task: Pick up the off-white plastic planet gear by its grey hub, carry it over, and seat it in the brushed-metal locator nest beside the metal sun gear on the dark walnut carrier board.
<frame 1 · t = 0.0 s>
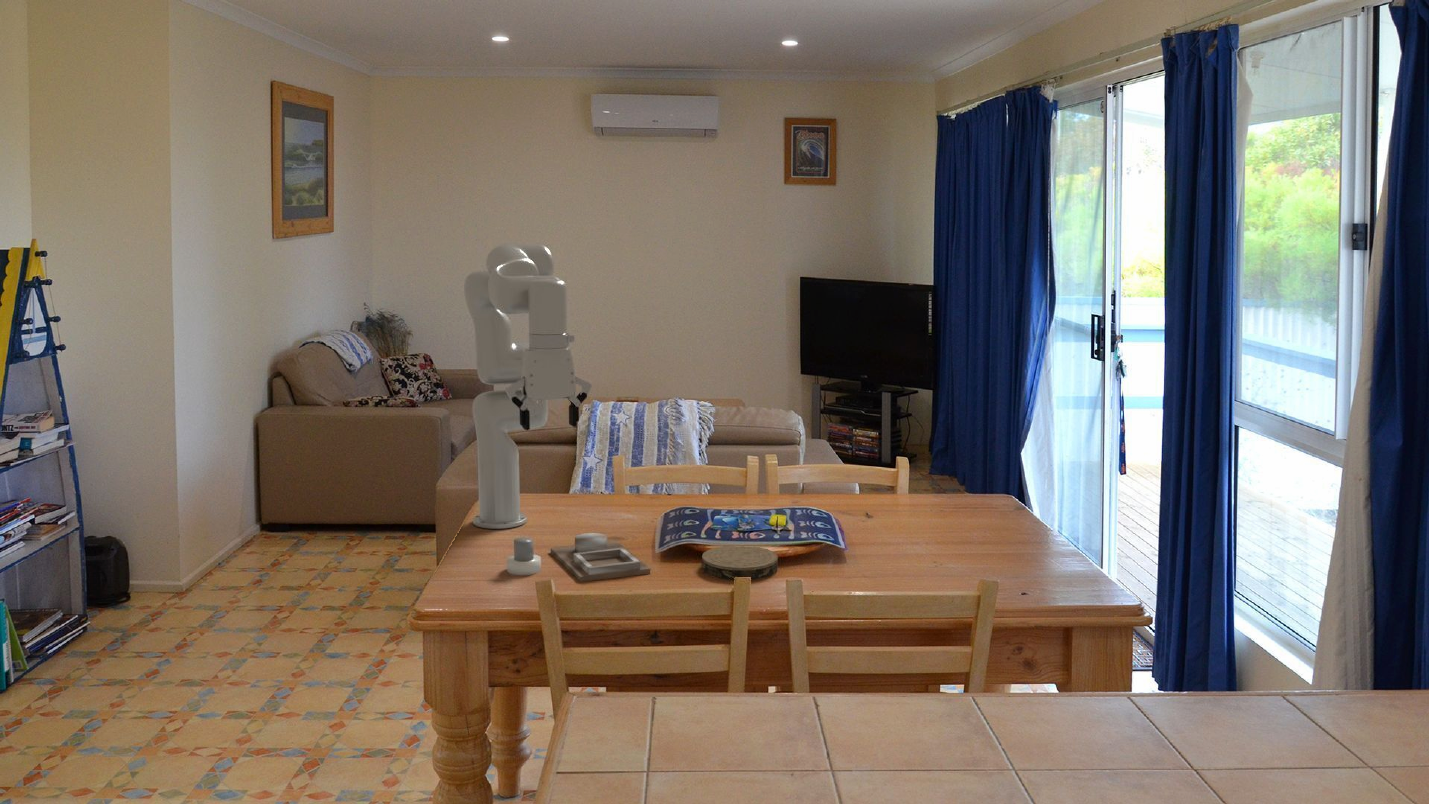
hand: (549, 427, 240), 31 cm above the table, fingers open, 9 cm apart
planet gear: (524, 570, 250), on the table
grey brown round disc: (739, 570, 252), on the table
carrier board: (599, 562, 256), on the table
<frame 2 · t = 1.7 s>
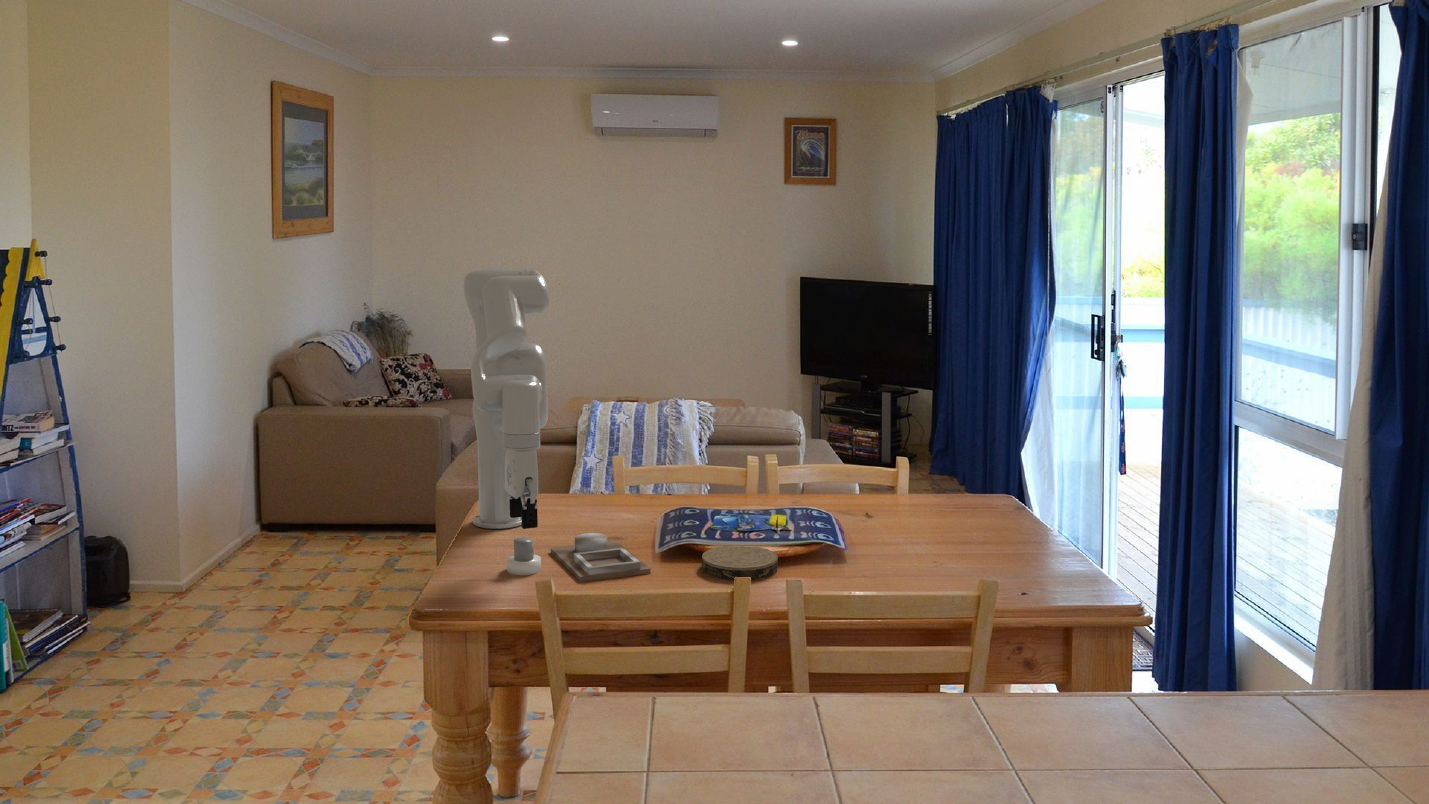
hand: (523, 522, 248), 10 cm above the table, fingers open, 9 cm apart
nothing on the table moved.
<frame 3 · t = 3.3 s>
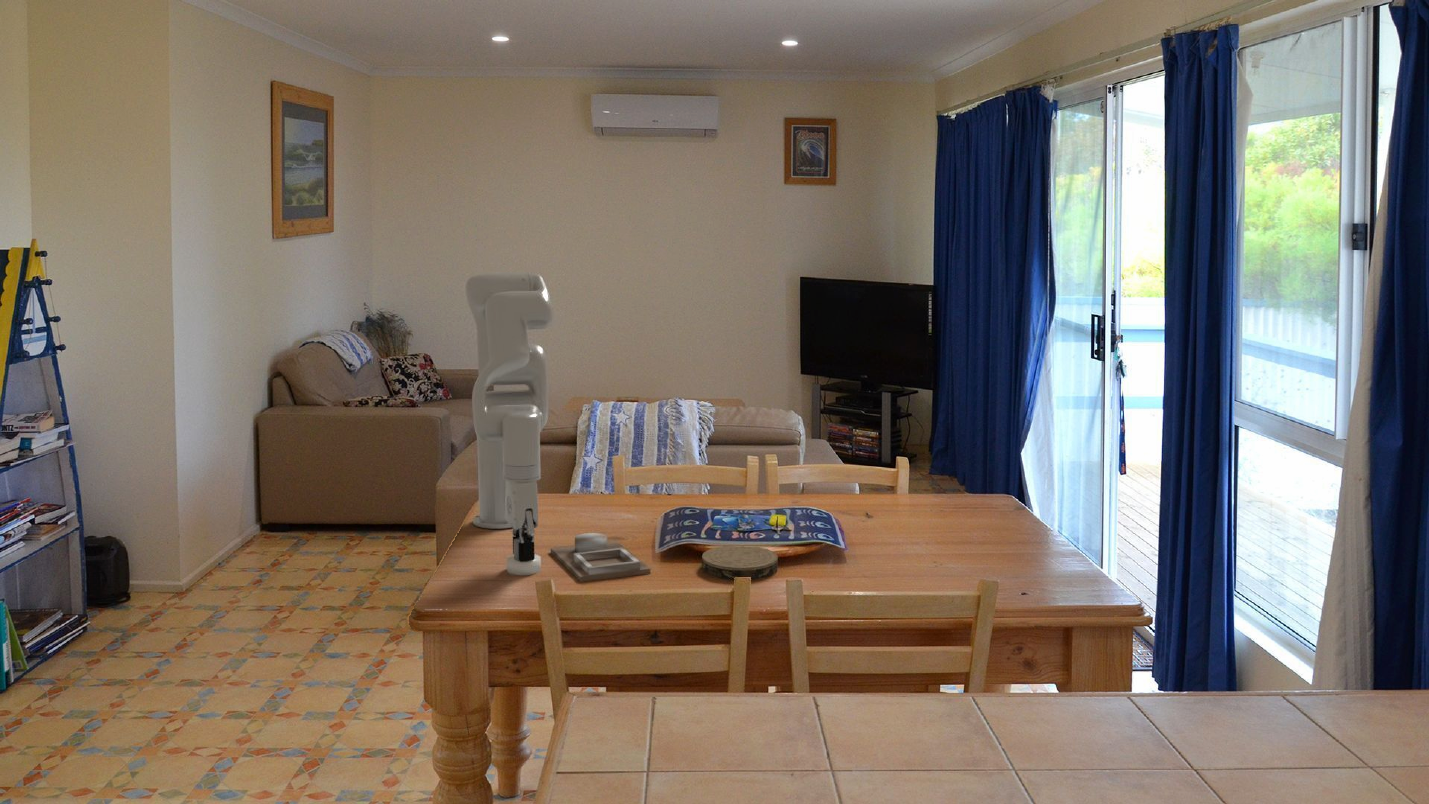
hand: (523, 556, 250), 3 cm above the table, fingers closed on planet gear, 4 cm apart
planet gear: (524, 570, 250), on the table, touching gripper
everything else where it was.
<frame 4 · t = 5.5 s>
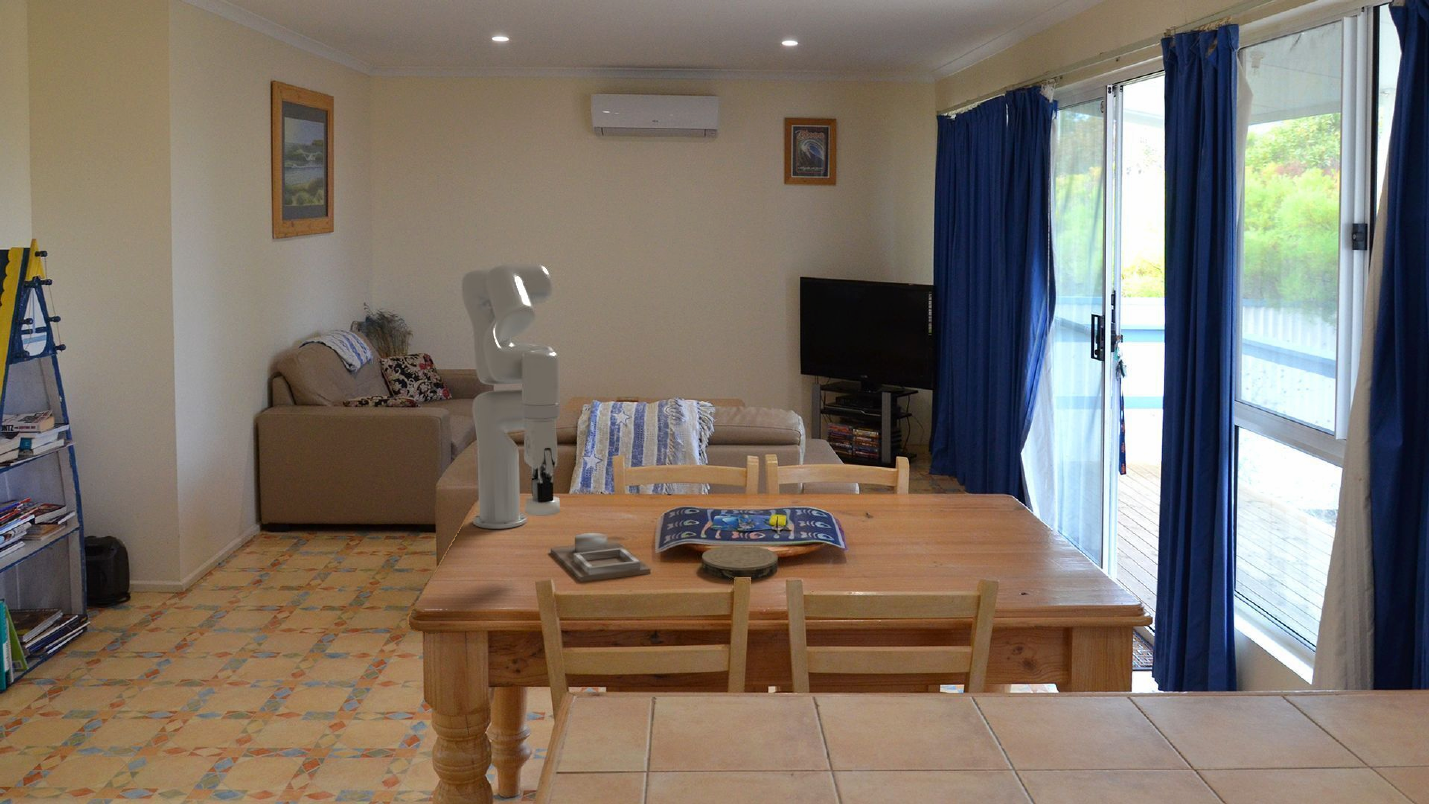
hand: (542, 497, 248), 15 cm above the table, fingers closed on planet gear, 4 cm apart
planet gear: (542, 511, 248), point 12 cm above the table, touching gripper
everything else where it was.
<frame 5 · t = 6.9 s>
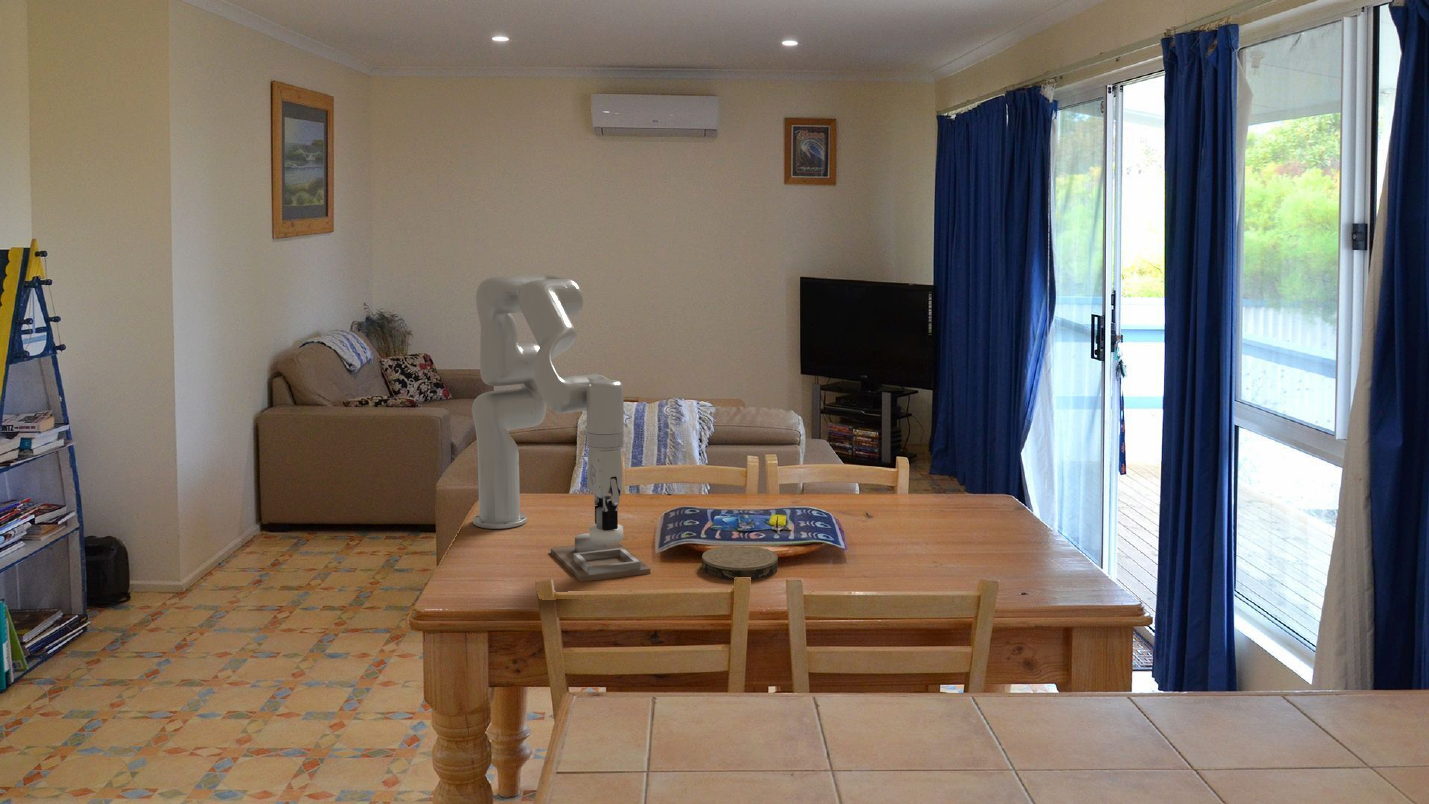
hand: (606, 525, 249), 9 cm above the table, fingers closed on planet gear, 4 cm apart
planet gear: (606, 539, 250), point 6 cm above the table, touching gripper
everything else where it was.
when the fingers open (5 cm above the table, at t = 8.1 s): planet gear drops 1 cm, resting on carrier board.
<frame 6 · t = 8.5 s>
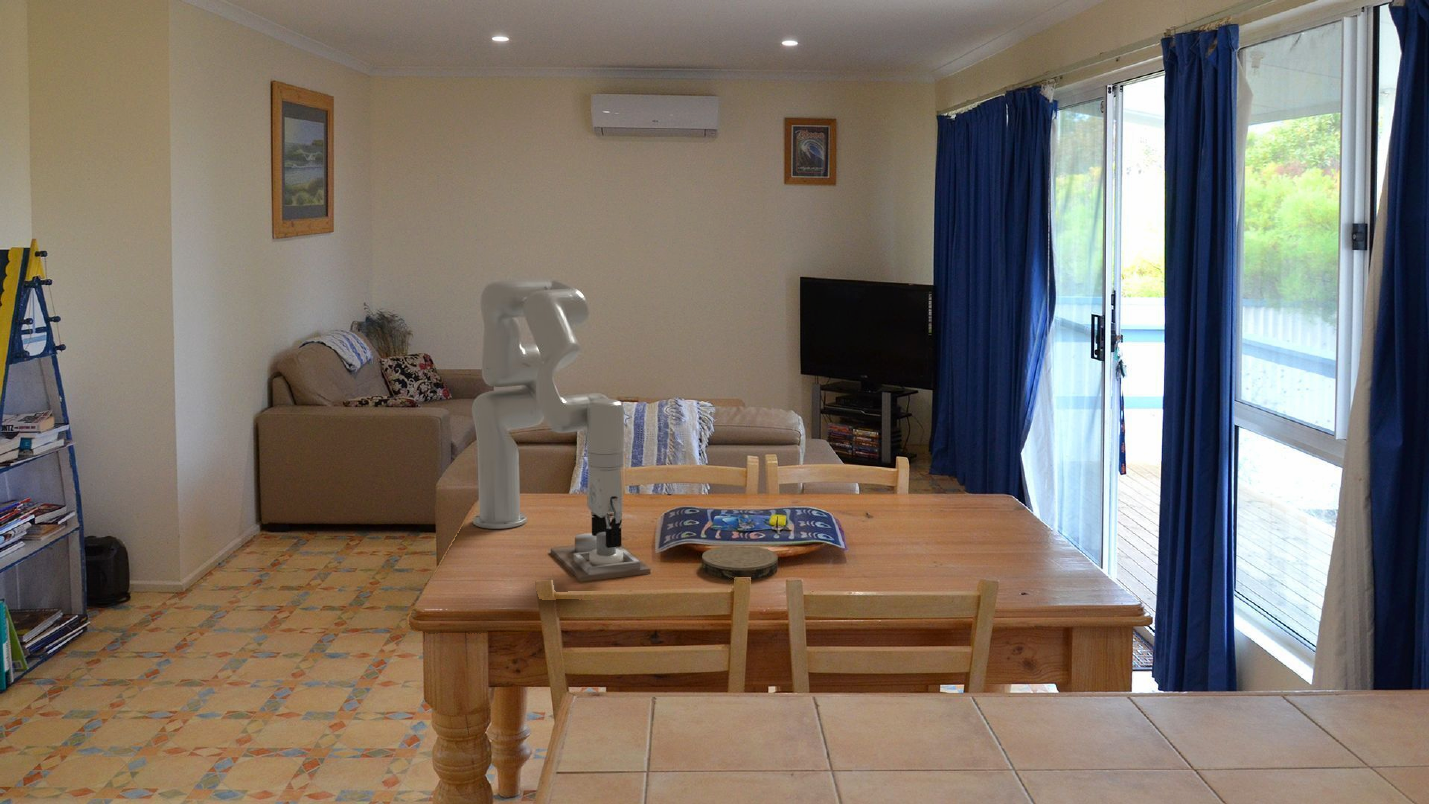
hand: (606, 540, 250), 6 cm above the table, fingers open, 8 cm apart
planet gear: (606, 564, 251), point 1 cm above the table, touching carrier board
everything else where it was.
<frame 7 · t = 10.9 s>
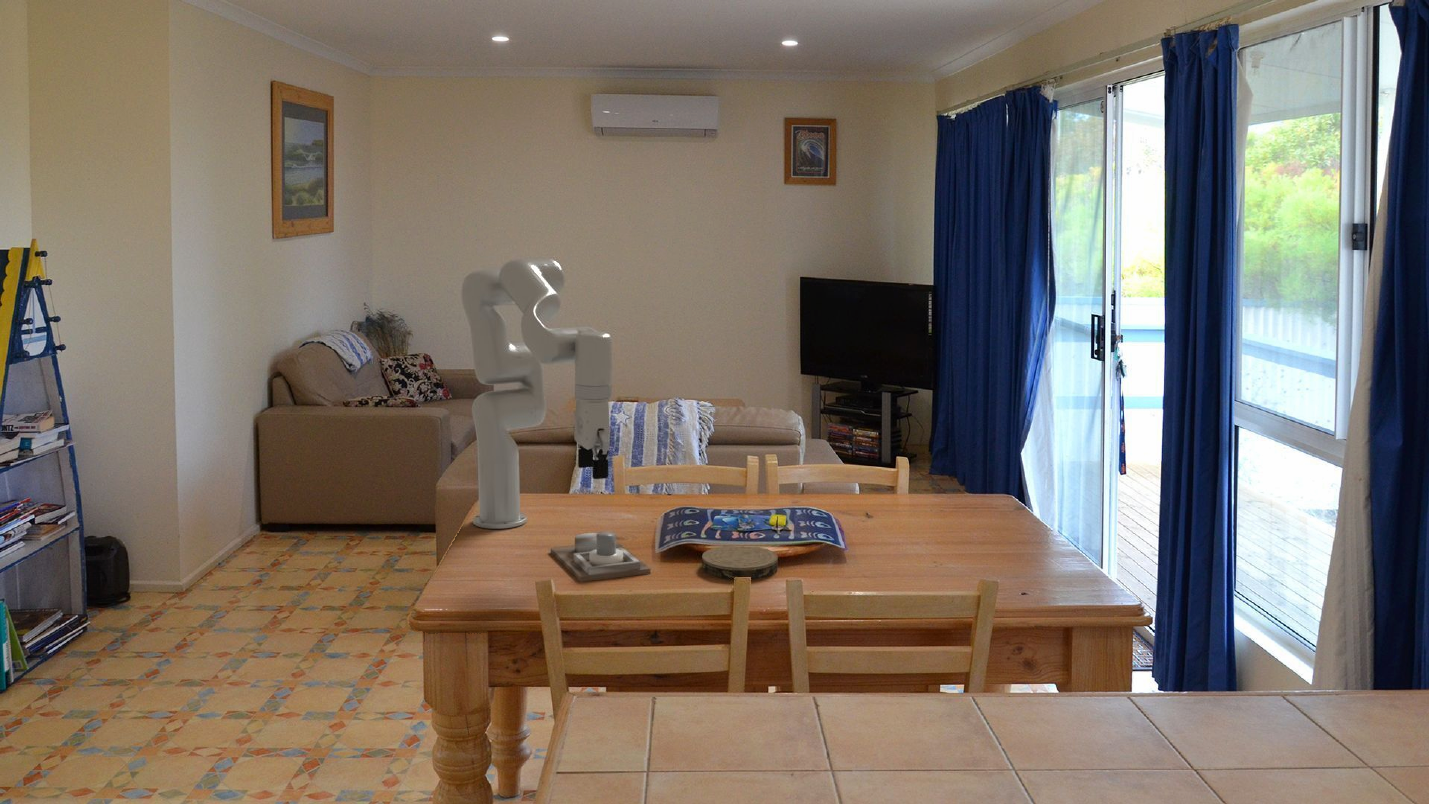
hand: (592, 472, 251), 20 cm above the table, fingers open, 9 cm apart
nothing on the table moved.
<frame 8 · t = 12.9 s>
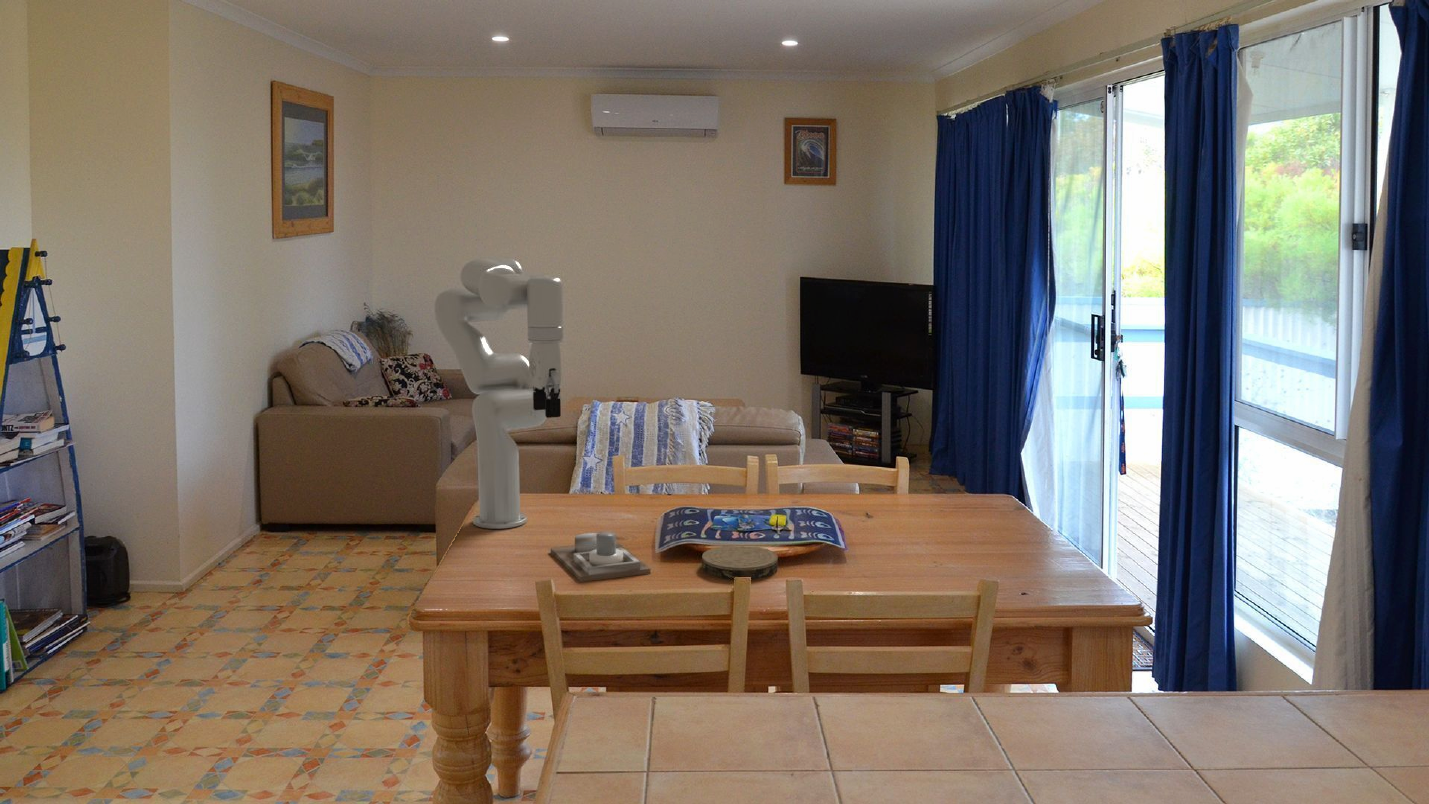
hand: (546, 413, 260), 30 cm above the table, fingers open, 9 cm apart
nothing on the table moved.
at the end: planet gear 0.0 cm from the target spot on the carrier board, point 1.0 cm above the carrier board's base; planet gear tilted 0°; the gripper is holding nothing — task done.
